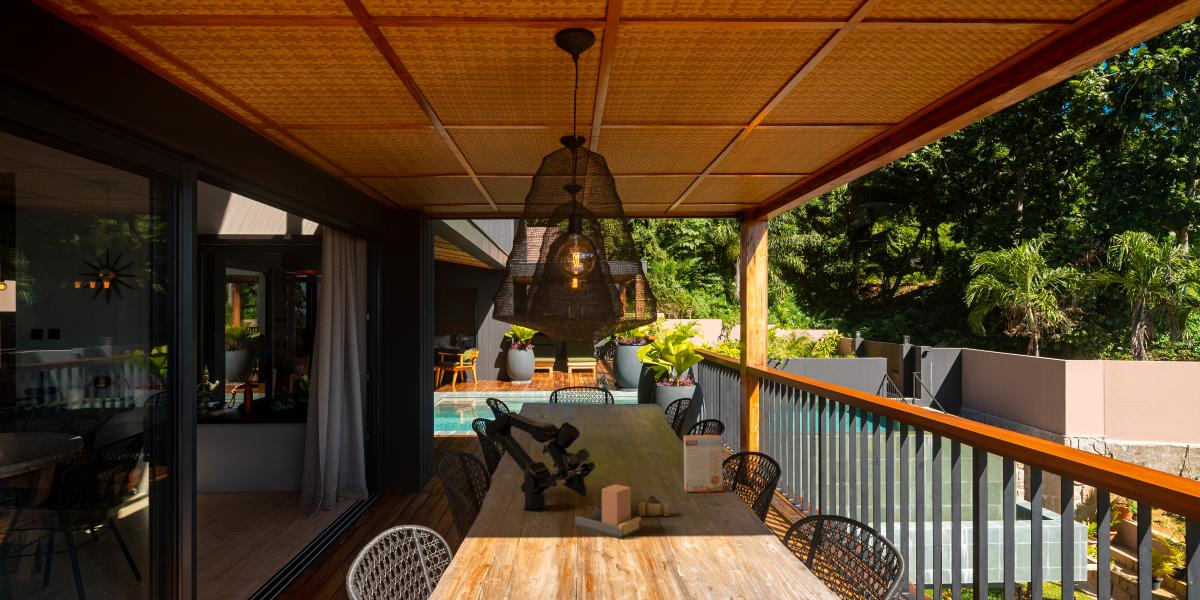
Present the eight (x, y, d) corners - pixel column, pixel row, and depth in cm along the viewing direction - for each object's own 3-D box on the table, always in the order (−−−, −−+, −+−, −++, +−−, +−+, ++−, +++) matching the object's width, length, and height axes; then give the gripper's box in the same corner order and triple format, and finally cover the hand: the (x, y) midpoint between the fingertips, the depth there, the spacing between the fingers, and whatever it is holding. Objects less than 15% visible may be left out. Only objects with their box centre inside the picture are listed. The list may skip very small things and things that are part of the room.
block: (601, 527, 201) (601, 488, 202) (615, 521, 207) (615, 484, 207) (617, 531, 198) (617, 492, 198) (630, 525, 203) (630, 487, 203)
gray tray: (575, 526, 206) (575, 513, 206) (595, 518, 214) (595, 506, 214) (621, 539, 195) (621, 525, 195) (640, 530, 203) (640, 517, 203)
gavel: (638, 490, 236) (665, 490, 236) (638, 503, 236) (665, 503, 236) (639, 504, 216) (669, 504, 215) (639, 518, 215) (669, 518, 215)
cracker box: (719, 488, 250) (719, 434, 250) (722, 492, 244) (722, 437, 244) (683, 488, 250) (683, 434, 250) (685, 493, 244) (685, 437, 244)
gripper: (554, 446, 207) (579, 487, 200) (591, 437, 221) (616, 475, 214) (536, 467, 212) (560, 507, 205) (574, 457, 226) (598, 494, 219)
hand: (585, 495), depth 210 cm, fingers closed
